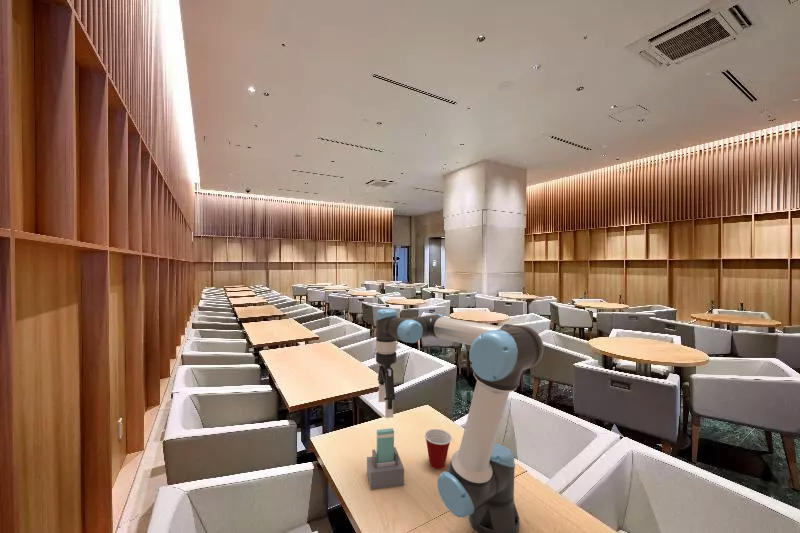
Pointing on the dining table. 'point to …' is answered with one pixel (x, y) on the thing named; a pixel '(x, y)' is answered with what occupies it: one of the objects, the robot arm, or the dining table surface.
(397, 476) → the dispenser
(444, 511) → the dining table surface
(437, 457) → the plastic cup
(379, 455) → the teal flat box
